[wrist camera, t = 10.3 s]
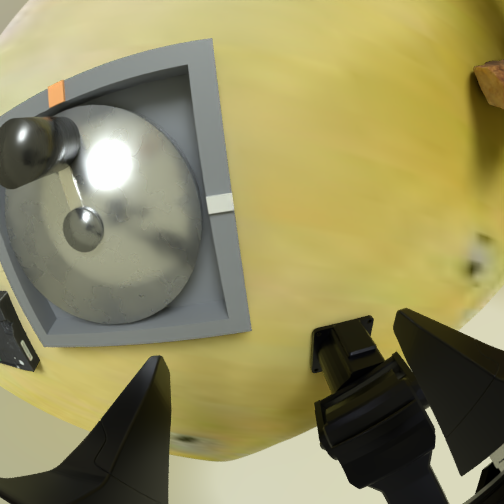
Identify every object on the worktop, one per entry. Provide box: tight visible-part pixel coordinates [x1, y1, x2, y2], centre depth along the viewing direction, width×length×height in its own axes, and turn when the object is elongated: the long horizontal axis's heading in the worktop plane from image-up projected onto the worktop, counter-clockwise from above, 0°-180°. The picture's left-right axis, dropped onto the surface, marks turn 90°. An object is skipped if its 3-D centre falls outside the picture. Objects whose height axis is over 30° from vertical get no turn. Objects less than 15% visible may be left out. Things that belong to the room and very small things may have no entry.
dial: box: [0, 105, 203, 324], centre depth 14 cm, size 16×16×7 cm
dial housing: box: [0, 38, 252, 347], centre depth 17 cm, size 20×20×3 cm
